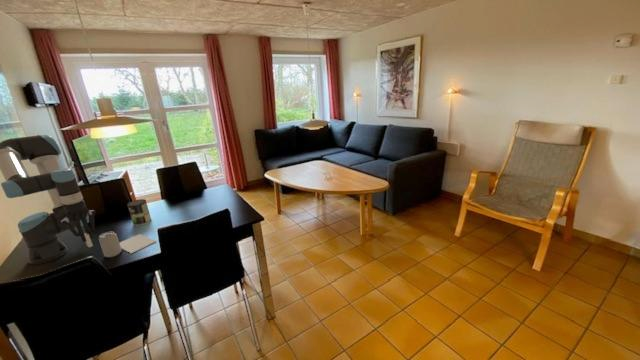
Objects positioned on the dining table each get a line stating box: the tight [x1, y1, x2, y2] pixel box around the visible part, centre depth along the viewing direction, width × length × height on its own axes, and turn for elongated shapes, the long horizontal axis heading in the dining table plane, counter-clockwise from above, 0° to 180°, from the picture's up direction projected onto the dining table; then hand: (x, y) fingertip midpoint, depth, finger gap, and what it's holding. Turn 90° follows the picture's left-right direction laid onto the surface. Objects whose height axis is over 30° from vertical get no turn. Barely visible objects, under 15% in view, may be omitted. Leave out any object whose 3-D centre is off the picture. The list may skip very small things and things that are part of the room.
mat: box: [119, 233, 157, 255], centre depth 150 cm, size 13×18×1 cm
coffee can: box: [126, 198, 152, 226], centre depth 174 cm, size 10×10×14 cm
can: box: [98, 230, 123, 258], centre depth 139 cm, size 8×8×12 cm
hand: (90, 245), depth 132 cm, fingers closed
